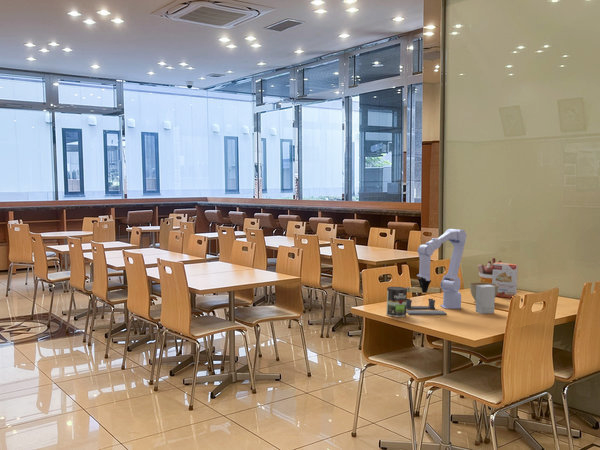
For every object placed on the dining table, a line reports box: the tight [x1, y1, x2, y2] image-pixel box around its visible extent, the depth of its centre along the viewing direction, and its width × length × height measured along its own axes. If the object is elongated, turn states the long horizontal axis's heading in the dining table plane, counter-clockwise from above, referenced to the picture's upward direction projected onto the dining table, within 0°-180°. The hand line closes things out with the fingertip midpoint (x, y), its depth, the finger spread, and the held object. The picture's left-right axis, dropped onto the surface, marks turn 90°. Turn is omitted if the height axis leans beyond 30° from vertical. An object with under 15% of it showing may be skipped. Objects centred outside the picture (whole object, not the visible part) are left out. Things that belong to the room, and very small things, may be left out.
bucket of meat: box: [477, 257, 502, 283], centre depth 384 cm, size 20×16×20 cm
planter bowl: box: [469, 282, 499, 303], centre depth 333 cm, size 16×16×11 cm
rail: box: [406, 286, 442, 294], centre depth 305 cm, size 18×3×3 cm, turn 93°
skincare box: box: [475, 285, 496, 315], centre depth 305 cm, size 8×6×15 cm
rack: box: [406, 298, 436, 311], centre depth 312 cm, size 16×4×5 cm, turn 94°
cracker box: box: [492, 262, 519, 299], centre depth 354 cm, size 14×6×21 cm, turn 59°
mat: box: [406, 309, 447, 316], centre depth 300 cm, size 20×7×1 cm, turn 94°
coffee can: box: [385, 286, 408, 318], centre depth 295 cm, size 10×10×14 cm
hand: (423, 292), depth 305 cm, fingers closed on rail, 2 cm apart
